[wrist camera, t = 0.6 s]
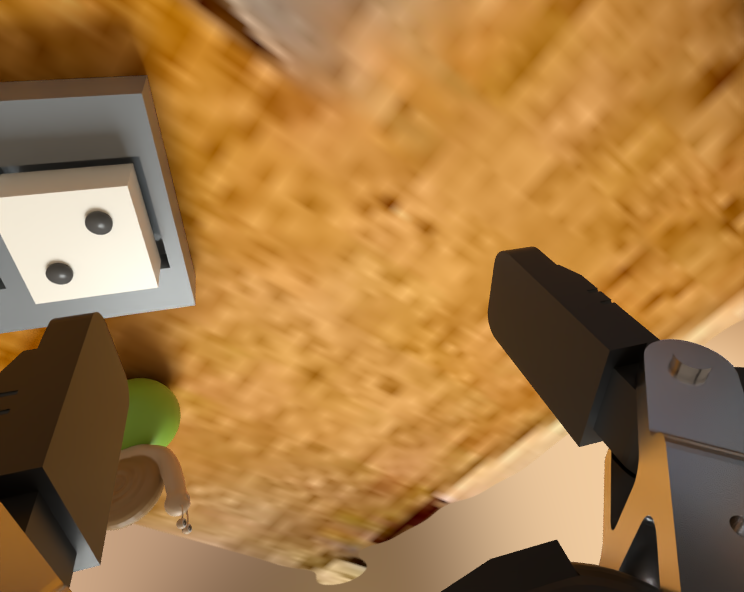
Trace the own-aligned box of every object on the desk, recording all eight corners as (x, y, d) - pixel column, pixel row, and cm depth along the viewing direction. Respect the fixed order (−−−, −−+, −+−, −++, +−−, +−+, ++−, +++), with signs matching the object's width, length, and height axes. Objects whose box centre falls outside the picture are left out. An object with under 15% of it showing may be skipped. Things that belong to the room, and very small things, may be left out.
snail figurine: (206, 394, 38) (209, 549, 29) (123, 423, 38) (100, 589, 29) (174, 347, 35) (166, 506, 26) (82, 377, 34) (41, 550, 25)
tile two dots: (0, 174, 23) (-19, 201, 21) (132, 163, 24) (126, 187, 22) (47, 274, 26) (34, 306, 24) (161, 260, 27) (157, 289, 25)
